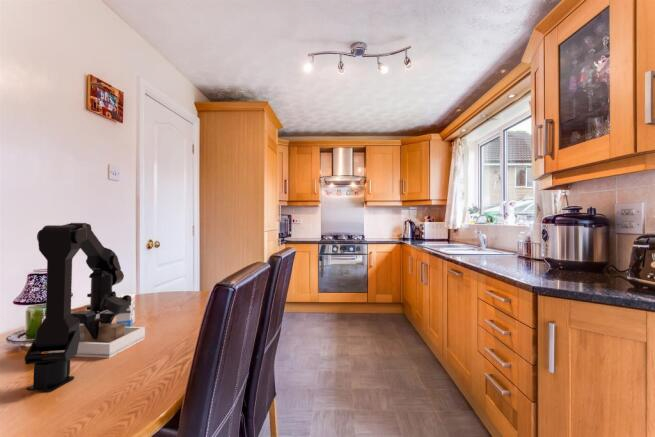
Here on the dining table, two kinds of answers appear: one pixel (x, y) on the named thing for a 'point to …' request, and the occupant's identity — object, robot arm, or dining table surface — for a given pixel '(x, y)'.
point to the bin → (110, 344)
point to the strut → (103, 333)
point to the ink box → (127, 313)
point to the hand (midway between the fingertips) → (100, 337)
